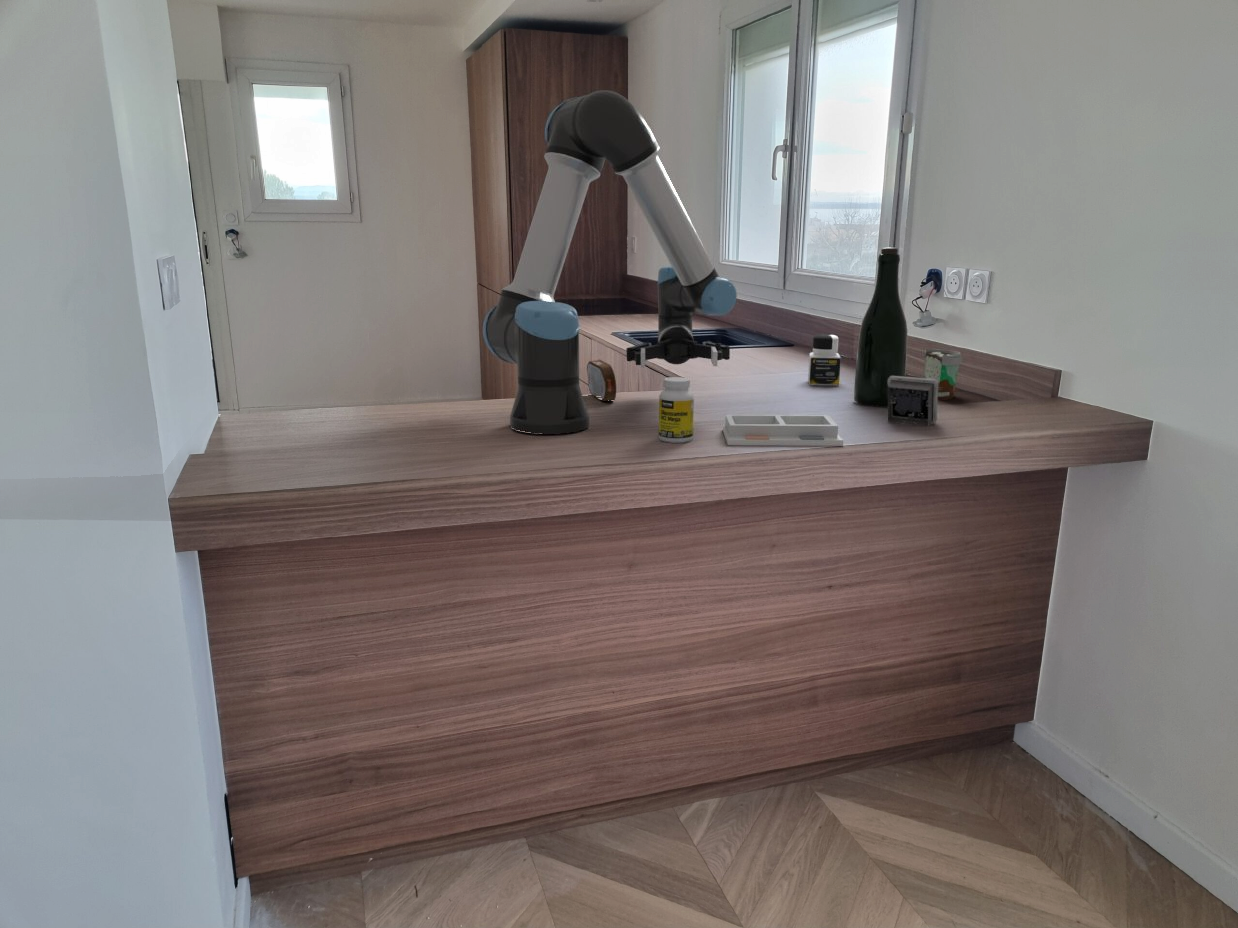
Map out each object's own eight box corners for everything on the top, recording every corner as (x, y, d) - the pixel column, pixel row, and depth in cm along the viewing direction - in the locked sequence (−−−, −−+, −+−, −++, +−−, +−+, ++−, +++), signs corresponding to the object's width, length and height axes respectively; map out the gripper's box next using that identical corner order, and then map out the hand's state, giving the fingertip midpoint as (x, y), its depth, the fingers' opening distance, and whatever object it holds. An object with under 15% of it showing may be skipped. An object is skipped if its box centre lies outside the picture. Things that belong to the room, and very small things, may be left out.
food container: (967, 401, 189) (972, 355, 186) (939, 401, 189) (943, 356, 186) (947, 391, 200) (951, 348, 198) (921, 391, 201) (924, 348, 198)
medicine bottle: (809, 385, 209) (811, 336, 206) (807, 380, 216) (810, 333, 213) (839, 386, 208) (842, 336, 205) (836, 381, 215) (839, 333, 212)
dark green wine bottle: (878, 409, 180) (890, 248, 171) (843, 401, 189) (853, 247, 180) (913, 404, 185) (927, 247, 176) (877, 397, 193) (889, 247, 185)
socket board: (727, 445, 149) (728, 428, 149) (722, 430, 161) (723, 414, 160) (842, 445, 149) (844, 429, 148) (829, 430, 160) (830, 415, 159)
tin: (617, 404, 187) (617, 366, 184) (603, 405, 186) (603, 366, 183) (598, 393, 200) (597, 357, 198) (585, 393, 199) (584, 357, 197)
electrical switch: (937, 423, 166) (940, 377, 163) (930, 431, 162) (933, 383, 159) (889, 418, 171) (891, 373, 168) (881, 425, 167) (883, 379, 164)
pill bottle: (655, 442, 151) (656, 381, 149) (661, 435, 157) (662, 375, 154) (690, 444, 150) (691, 382, 147) (695, 436, 156) (696, 376, 153)
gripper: (735, 361, 181) (745, 378, 161) (617, 363, 182) (613, 380, 162) (735, 325, 179) (746, 338, 159) (617, 327, 180) (612, 341, 160)
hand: (679, 359), depth 160 cm, fingers open, 13 cm apart
